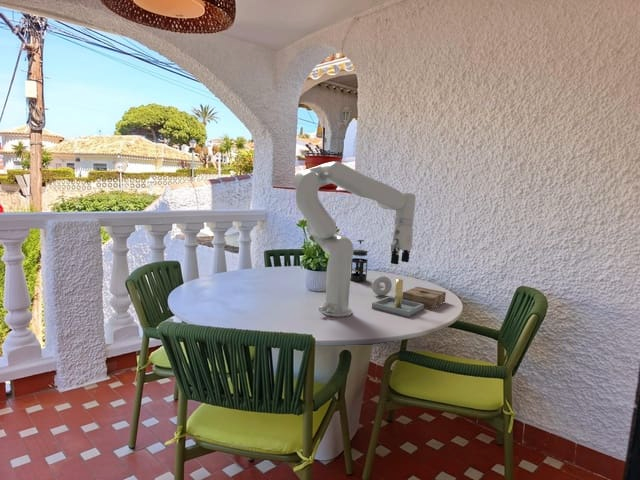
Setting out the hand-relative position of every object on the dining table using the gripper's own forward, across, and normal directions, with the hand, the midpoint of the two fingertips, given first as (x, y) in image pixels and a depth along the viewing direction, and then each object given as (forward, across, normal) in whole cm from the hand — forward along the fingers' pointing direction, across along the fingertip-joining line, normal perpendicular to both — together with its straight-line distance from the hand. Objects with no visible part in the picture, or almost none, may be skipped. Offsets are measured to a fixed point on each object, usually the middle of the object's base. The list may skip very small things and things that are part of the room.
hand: (399, 262), depth 163 cm
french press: (+20, +34, +40) cm, 57 cm away
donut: (+20, +15, +15) cm, 30 cm away
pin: (+19, +1, -1) cm, 19 cm away
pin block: (+20, +19, -5) cm, 28 cm away
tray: (+20, +1, -1) cm, 20 cm away
